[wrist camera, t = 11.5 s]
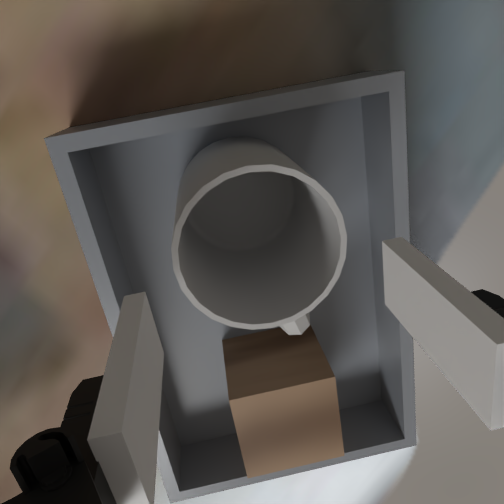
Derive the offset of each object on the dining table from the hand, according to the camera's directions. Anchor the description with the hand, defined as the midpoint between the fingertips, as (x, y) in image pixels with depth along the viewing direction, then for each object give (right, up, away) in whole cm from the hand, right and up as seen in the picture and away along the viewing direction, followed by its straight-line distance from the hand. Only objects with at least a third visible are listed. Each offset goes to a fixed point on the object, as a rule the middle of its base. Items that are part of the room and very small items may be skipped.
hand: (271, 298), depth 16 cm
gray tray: (0, -1, +13) cm, 13 cm away
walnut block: (+1, -6, +15) cm, 16 cm away
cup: (-1, +4, +11) cm, 11 cm away
